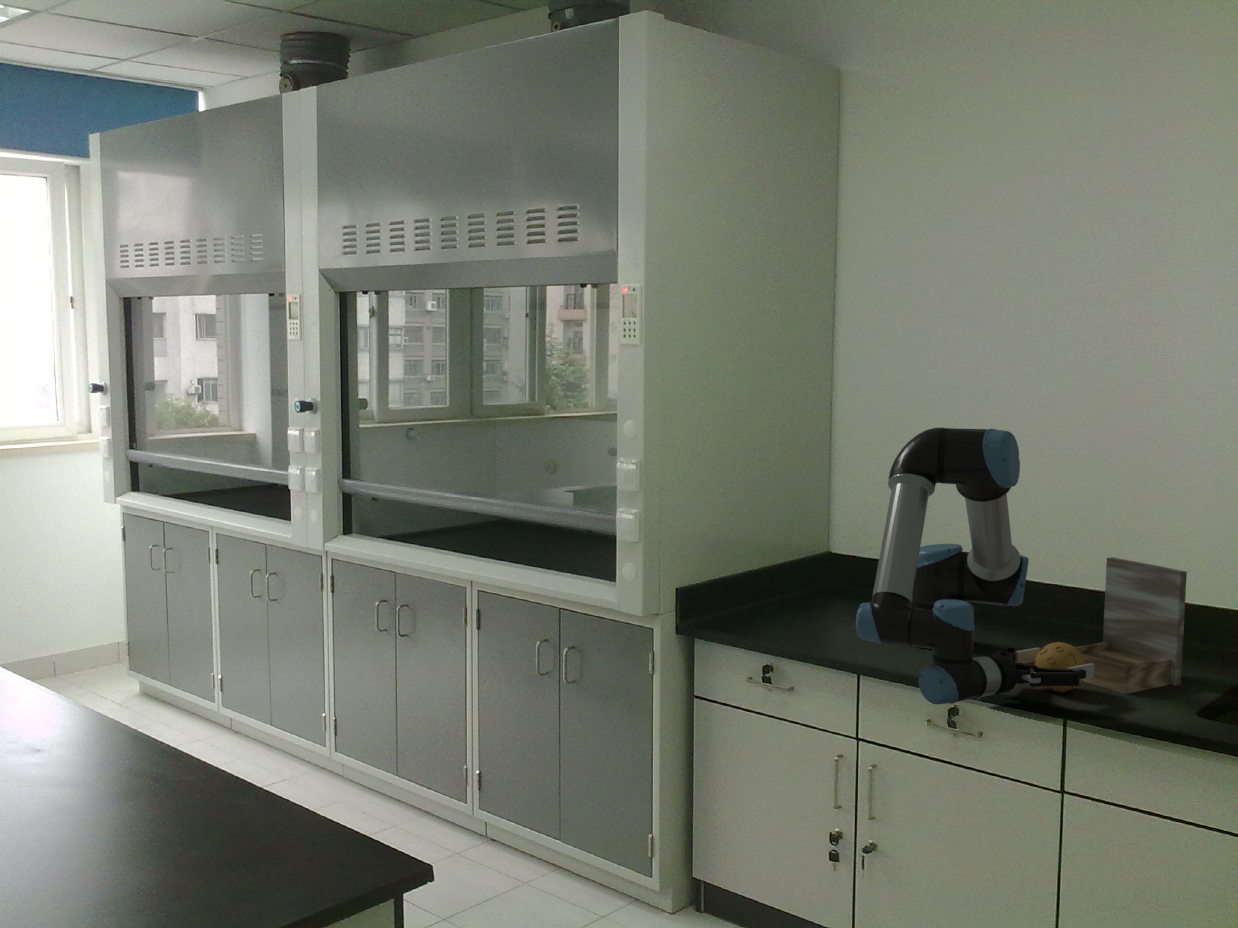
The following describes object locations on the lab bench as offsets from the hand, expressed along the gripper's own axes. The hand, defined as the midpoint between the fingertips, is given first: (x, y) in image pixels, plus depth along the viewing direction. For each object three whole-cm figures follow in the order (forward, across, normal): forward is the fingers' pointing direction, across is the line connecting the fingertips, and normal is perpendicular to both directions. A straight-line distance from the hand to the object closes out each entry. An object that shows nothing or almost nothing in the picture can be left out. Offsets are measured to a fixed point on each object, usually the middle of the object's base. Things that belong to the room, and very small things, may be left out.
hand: (1065, 661), depth 237 cm
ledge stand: (+16, 0, -6) cm, 17 cm away
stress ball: (-1, 0, -6) cm, 6 cm away
